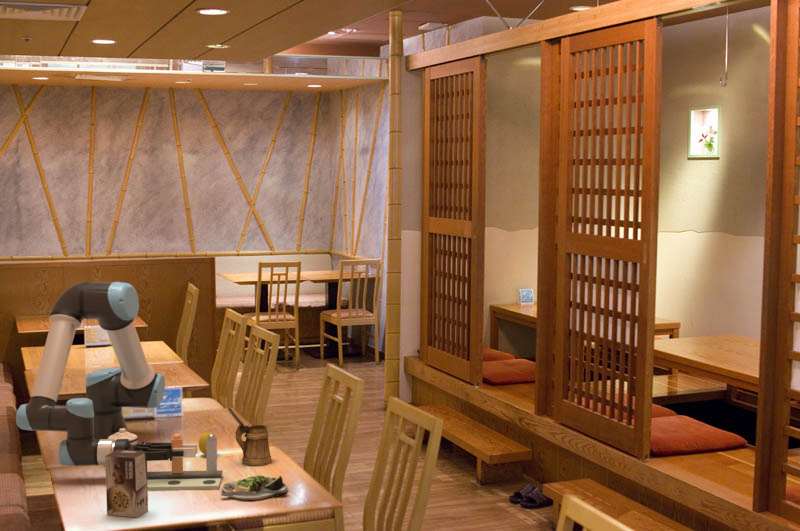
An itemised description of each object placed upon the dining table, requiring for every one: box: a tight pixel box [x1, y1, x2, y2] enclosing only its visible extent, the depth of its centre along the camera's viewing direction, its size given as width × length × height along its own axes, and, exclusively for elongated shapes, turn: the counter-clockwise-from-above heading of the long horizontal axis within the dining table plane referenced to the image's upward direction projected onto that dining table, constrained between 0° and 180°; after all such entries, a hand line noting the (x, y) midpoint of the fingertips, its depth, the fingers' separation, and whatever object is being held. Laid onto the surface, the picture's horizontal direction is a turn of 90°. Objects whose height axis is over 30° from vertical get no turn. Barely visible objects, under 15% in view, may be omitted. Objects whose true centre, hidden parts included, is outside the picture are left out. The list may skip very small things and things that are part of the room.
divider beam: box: [147, 433, 224, 481], centre depth 282 cm, size 3×27×14 cm, turn 95°
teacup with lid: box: [108, 428, 139, 445], centre depth 296 cm, size 12×9×12 cm
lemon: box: [198, 431, 213, 456], centre depth 307 cm, size 6×6×8 cm
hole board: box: [147, 478, 222, 492], centre depth 276 cm, size 7×25×1 cm, turn 95°
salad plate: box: [220, 474, 288, 501], centre depth 271 cm, size 19×18×5 cm
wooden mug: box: [227, 407, 273, 467], centre depth 299 cm, size 9×14×18 cm, turn 106°
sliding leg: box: [171, 432, 184, 473], centre depth 282 cm, size 3×3×12 cm
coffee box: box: [105, 450, 149, 518], centre depth 253 cm, size 9×6×16 cm
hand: (196, 450), depth 282 cm, fingers closed on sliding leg, 3 cm apart
